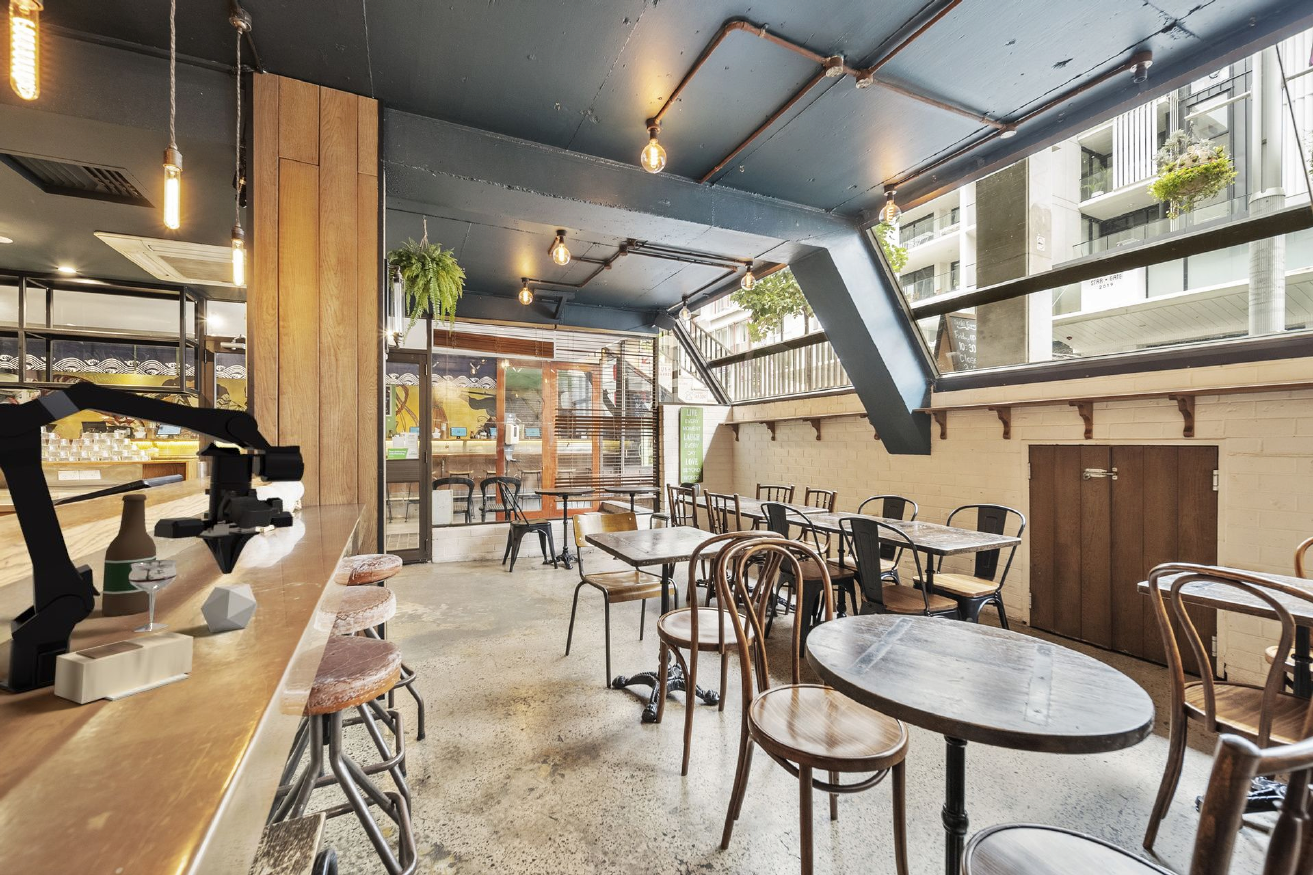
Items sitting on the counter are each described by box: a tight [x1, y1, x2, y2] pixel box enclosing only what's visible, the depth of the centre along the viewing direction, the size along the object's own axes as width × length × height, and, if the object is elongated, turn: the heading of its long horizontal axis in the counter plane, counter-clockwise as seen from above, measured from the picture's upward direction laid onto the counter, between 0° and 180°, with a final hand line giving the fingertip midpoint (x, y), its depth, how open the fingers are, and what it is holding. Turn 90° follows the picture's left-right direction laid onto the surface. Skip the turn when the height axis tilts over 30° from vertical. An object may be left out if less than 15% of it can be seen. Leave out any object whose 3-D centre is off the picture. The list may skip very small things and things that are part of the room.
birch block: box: [54, 630, 194, 705], centre depth 76 cm, size 7×5×12 cm
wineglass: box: [129, 559, 178, 633], centre depth 102 cm, size 7×7×12 cm
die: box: [200, 583, 259, 633], centre depth 102 cm, size 8×9×10 cm
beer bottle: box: [101, 493, 157, 617], centre depth 112 cm, size 8×8×24 cm
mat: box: [103, 673, 190, 702], centre depth 77 cm, size 10×8×1 cm
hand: (227, 573), depth 93 cm, fingers closed
